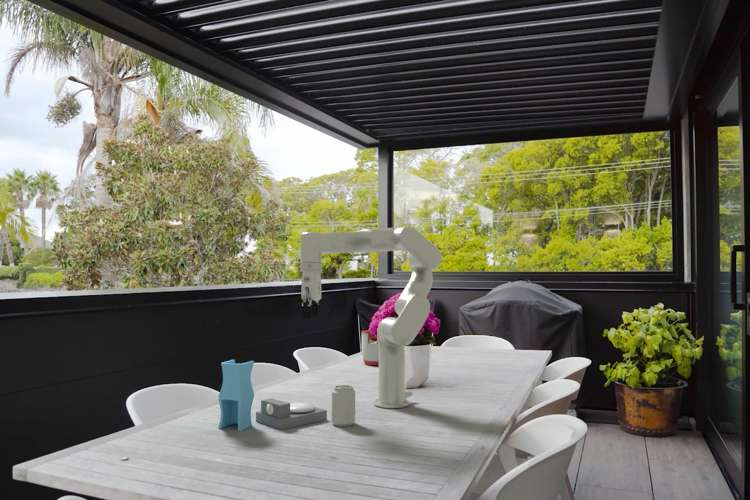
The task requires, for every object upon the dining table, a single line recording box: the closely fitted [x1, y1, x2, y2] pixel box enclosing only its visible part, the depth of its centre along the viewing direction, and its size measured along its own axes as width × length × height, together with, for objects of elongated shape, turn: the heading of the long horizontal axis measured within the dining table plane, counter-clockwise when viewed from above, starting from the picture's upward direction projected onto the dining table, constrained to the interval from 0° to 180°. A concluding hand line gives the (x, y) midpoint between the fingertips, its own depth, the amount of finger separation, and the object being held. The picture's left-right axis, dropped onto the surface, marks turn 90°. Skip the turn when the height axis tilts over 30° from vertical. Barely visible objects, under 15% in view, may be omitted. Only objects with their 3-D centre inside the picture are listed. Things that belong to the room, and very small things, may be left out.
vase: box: [217, 359, 255, 432], centre depth 189 cm, size 8×8×20 cm
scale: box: [255, 398, 328, 430], centre depth 197 cm, size 18×14×7 cm
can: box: [331, 384, 356, 427], centre depth 193 cm, size 8×8×12 cm
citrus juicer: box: [360, 329, 379, 366], centre depth 313 cm, size 16×17×20 cm
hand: (310, 317), depth 210 cm, fingers open, 9 cm apart
